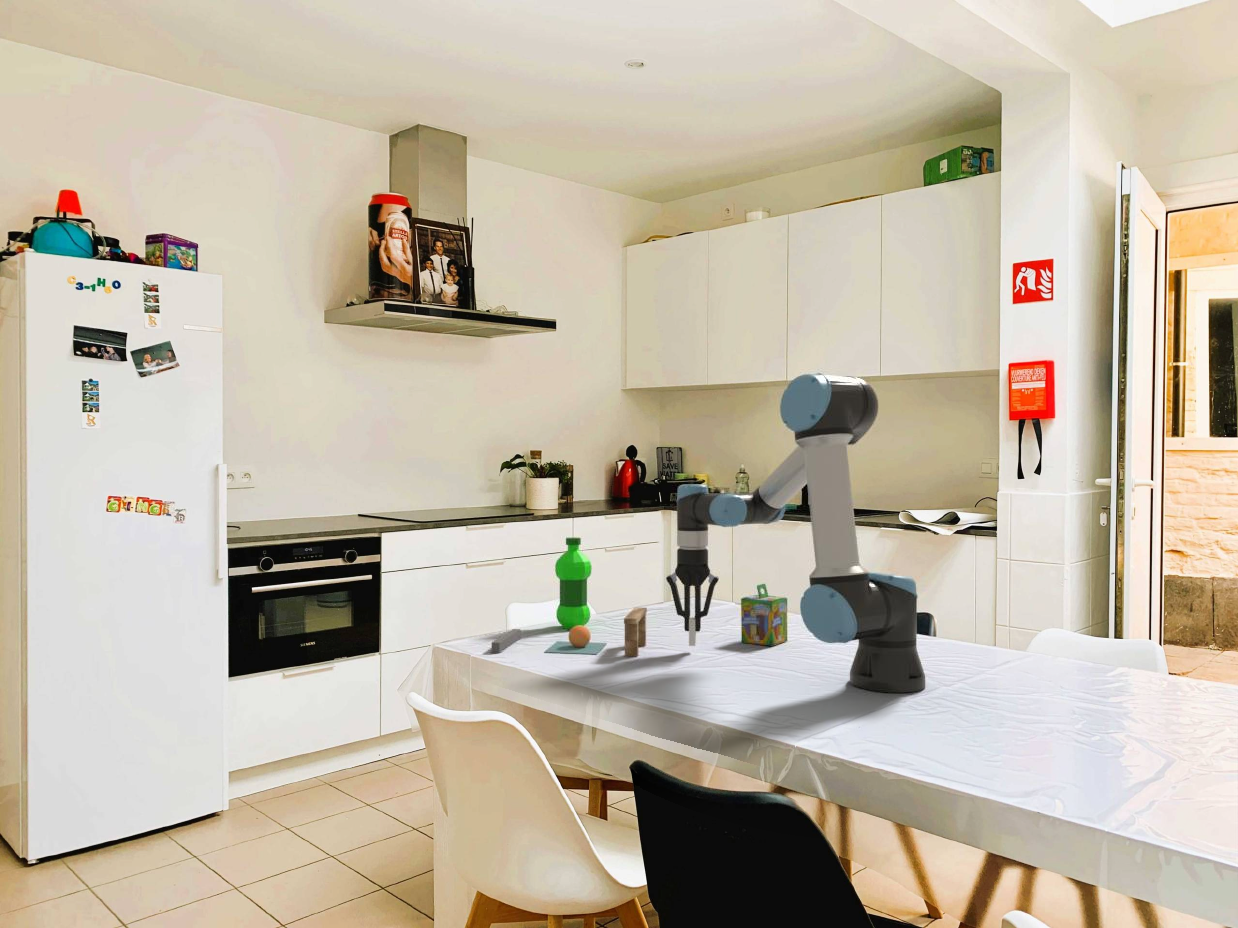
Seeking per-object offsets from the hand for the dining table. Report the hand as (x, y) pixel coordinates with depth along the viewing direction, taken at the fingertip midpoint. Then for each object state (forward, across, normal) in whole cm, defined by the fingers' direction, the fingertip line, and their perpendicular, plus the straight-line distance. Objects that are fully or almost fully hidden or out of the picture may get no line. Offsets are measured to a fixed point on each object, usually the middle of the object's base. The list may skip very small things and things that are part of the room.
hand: (692, 644), depth 220 cm
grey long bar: (+2, +47, 0) cm, 47 cm away
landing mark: (+2, +29, 0) cm, 29 cm away
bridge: (+2, +14, 0) cm, 14 cm away
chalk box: (+2, -17, -16) cm, 23 cm away
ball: (-1, +28, -1) cm, 28 cm away
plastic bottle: (+2, +36, -27) cm, 45 cm away
